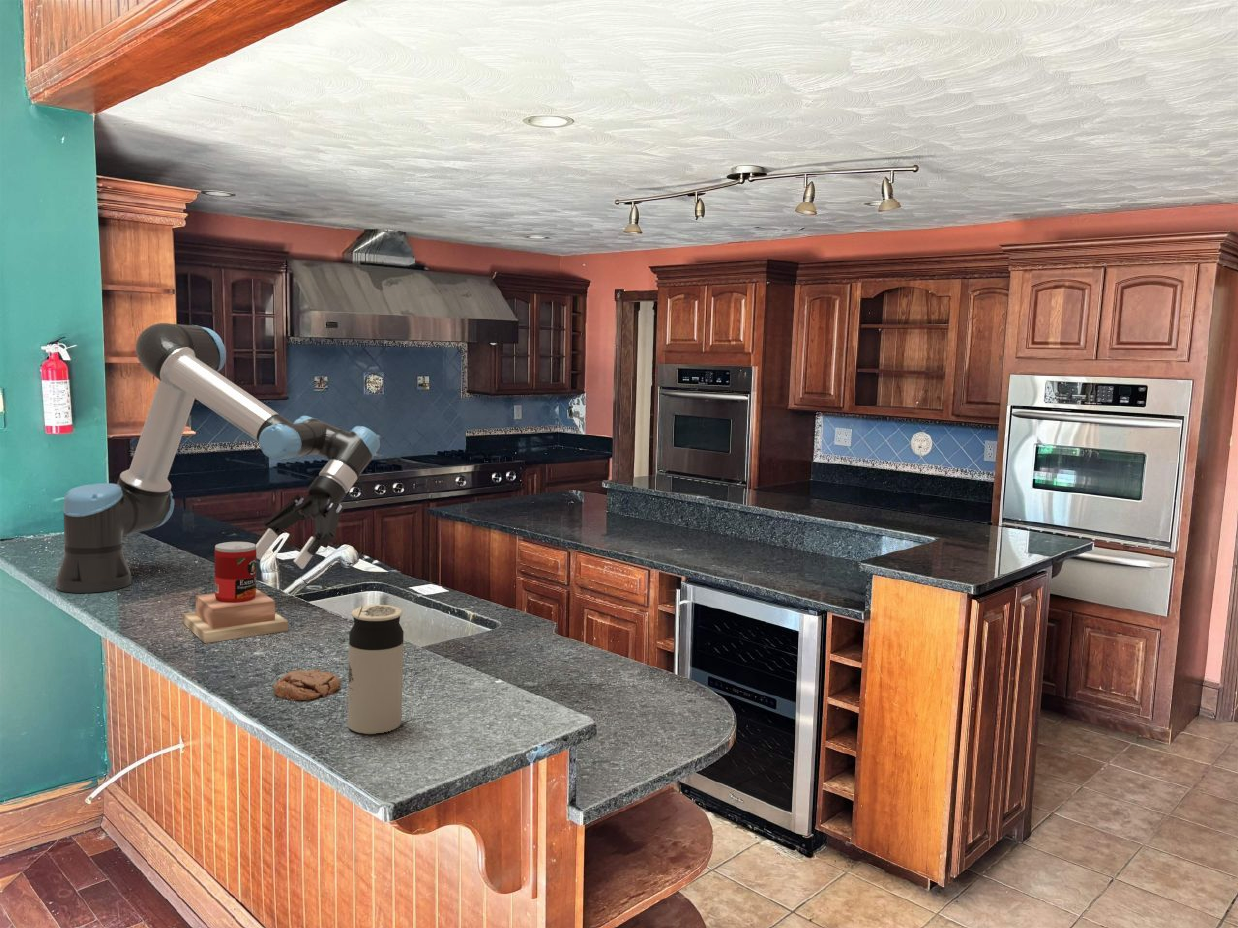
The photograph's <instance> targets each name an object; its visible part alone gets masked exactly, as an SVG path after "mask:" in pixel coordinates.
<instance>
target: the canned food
mask: <svg viewBox="0 0 1238 928" xmlns="http://www.w3.org/2000/svg"><path fill="white" fill-rule="evenodd" d="M256 589H257V558H256V544H255V543H252V542H248V541H227V542H222V543H221V542H220V543H217V544H215V546H214V593H215V597H216V599H217V600H218V601H221V602H228V603H236V602H245V601H249V600H252V599H254V597H255V595H256Z"/></svg>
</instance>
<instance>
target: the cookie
mask: <svg viewBox="0 0 1238 928" xmlns="http://www.w3.org/2000/svg"><path fill="white" fill-rule="evenodd" d="M340 686H341V681H340V678H338V676H337V675H336V674H334V673H331V672H329V671H322V670H320V669H313V670H292V671H289V672H287V673H286V674H284V675H283V676H282V677H281V678H280V679H279V680H277V681H276V682H274V683H273V690H274V695H275V696H276V695H277V696H278V698H279V697H282V698H281V699H284V698H288V699H292V700H291V701H295V700H307V701H311V700H310V699H312V700H315V699H317V698H318V699H319V698H321V697H322V696H323V697H322V698H325V697H327V696H332V695H333V694H335V693H336V692H337V691H339V690H340ZM331 694H332V695H331ZM277 696H276V697H277ZM288 699H287V700H288ZM293 699H294V700H293Z"/></svg>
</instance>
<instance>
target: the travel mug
mask: <svg viewBox="0 0 1238 928" xmlns="http://www.w3.org/2000/svg"><path fill="white" fill-rule="evenodd" d="M350 613H351V614H350V615H351V616H352V618H353V625H352V627H351V629H350V631H349V636H348V641H349V642H348V644H349V645H348V685H347V686H348V693H347V695H348V697H347V706H348V707H347V727H348V728H349V729H350V730H351V731H353V732H356V733H358V734H362V733H363V734H364V735H377V734H376V733H382V734H385V733H384V732H386V733H389V732H392V731H393V730H396V729H397V728H399V727H400V726H401V725H402V723H403V722H402V718H403V713H402V712H403V711H402V710H403V677H404V676H403V675H404V674H403V672H404V671H403V670H404V669H403V668H404V661H403V660H404V633H405V632H404V629H403V627H402V625H401V623H400V620H401V616H402V615H403V610H402V609H401V608H399V607H397V606H392V605H389V604H388V605H387V604H386V605H385V604H375V605H374V604H373V605H371V604H370V605H363V606H359V607H357V608H354V609H353V610H352V611H351V612H350ZM391 730H392V731H391ZM388 731H389V732H388Z"/></svg>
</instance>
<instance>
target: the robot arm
mask: <svg viewBox="0 0 1238 928" xmlns="http://www.w3.org/2000/svg"><path fill="white" fill-rule="evenodd" d="M226 350H227V349H226V346H225V345H224V343H223V340H222V338H221V337H220V335H219V334H218V333H217V332H216V331H214V330H212V329H211V328H208V327H204V326H200V325H196V324H191V325H189V324H178V323H170V322H169V323H168V322H160V323H155V324H152V325H150V326H148V327H146V328H145V329H143V331H141V333H140V334H139V336H138V337H137V340H136V344H135V354H136V356H137V359H138V361H139V363H140V365H141V366H142V367H143V369H145V371H147V372H148V373H150V374H151V375H152V376H153V377H154V378H157V379H158V382H157V386H156V389H155V392H154V395H153V397H152V401H151V404H150V407H149V410H148V413H147V415H146V419H145V422H144V424H143V428H142V430H141V434H140V436H139V439H138V442H137V446H136V448H135V451H134V454H133V457H132V460H131V464H130V466H129V469H126V470H123V471H122V472H121V473H120V474H119V478H118V480H117V483H113V482H112V483H111V482H110V483H109V482H108V483H107V482H99V483H93V484H84V485H80V486H76V487H74V488H71V489H69V490H68V491H67V492H66V493H65V494H64V497H63V499H64V501H63V507H62V512H63V531H64V532H63V535H64V537H63V539H64V541H63V542H64V555H63V558H62V562H61V564H60V567H59V570H58V572H57V576H56V579H55V581H56V583H55V585H56V586H55V587H56V588H55V589H57V590H58V591H60V592H65V593H74V594H75V593H76V594H79V593H80V594H81V593H82V594H83V593H84V594H86V593H89V594H91V593H101V592H102V593H103V592H110V591H113V590H114V591H115V590H119V589H123V588H126V587H128V586H130V585H131V584H132V574H131V571H130V568H129V566H128V563H127V561H126V557H125V555H124V553H123V536H126V535H130V534H136V533H139V532H140V533H141V532H148V531H150V530H153V529H156V528H158V527H161V526H163V525H164V524H165V523H166V522H168V521H169V519H170V518H171V517H172V515H173V512H174V510H175V509H174V508H175V499H174V498H173V496H174V495H173V492H172V490H171V489H172V484H171V482H170V481H169V479H168V478H169V474H170V471H171V468H172V467H173V463H174V459H175V456H176V453H177V451H178V448H179V445H180V443H181V439H182V436H183V434H184V432H185V431H184V430H185V428H186V426H187V422H188V419H189V417H190V414H191V411H192V408H193V406H194V402H195V400H197V401H198V402H200V403H201V404H202V405H204V406H206V407H207V409H208V408H209V409H210V410H211V411H212V412H214V413H216V414H217V415H218V416H220V417H222V418H223V419H224V420H226V421H227V422H229V423H231V424H232V425H233V426H235V427H236V428H238V429H239V430H241V431H242V432H243V433H245V434H247V435H248V436H250V437H251V438H252V439H253V440H255V441H257V443H258V444H259V447H260V449H261V451H262V454H263V455H264V456H266V458H267V457H268V458H270V459H272V460H282V461H283V460H289V459H294V458H299V457H305V456H307V457H308V456H311V455H318V456H320V457H323V458H325V459H328V462H327V463H326V464H325V465H324V466H323V468H322V469H321V470H320V472H319V474H318V476H316V477H315V478H314V480H313V482H311V484H310V485H309V487H308V494H307V496H305V498H304V497H302V496H301V495H299V494H296V495H294V496H293V498H292V499H291V500H290V501H289V502H288V503H287V504H286V505H284V506H283V507H281V508H280V509H279V510H278V511H276V512H275V513H274V514H272V515H271V516H270V517H268V518H267V519H266V520H264V522H263V524H262V525H263V526H265V528H266V530H265V531H264V532H263V534H262V535H261V536H260V538H259V540H258V541H257V543H256V544H255V545H256V560H262V558H263V557H264V556H265V555H266V553H267V552H268V551H269V549H270V547H271V546H272V545H273V544H274V542H275V541H276V540H277V538H278V537H279V535H278V534H279V533H280V532H282V531H284V530H286V529H287V528H289V527H291V526H292V525H294V524H296V523H298V522H300V521H305V520H306V519H307V520H314V534H313V536H310V537H309V539H308V540H307V542H305V545H304V546H302V548H301V550H300V551H299V552H298V554H297V555H296V556H295V558H294V559H293V562H294V564H295V565H297V566H298V567H299V569H301V570H304V569H305V567H306V566H307V564H308V563H309V561H310V560H311V559H312V558H313V556H315V555H316V554H317V552H318V551H319V549H320V548H321V547H322V546H323V545H325V544H326V543H328V544H331V543H333V542H334V541H335V537H336V533H337V529H338V524H339V521H340V517H341V515H342V513H343V512H344V510H345V508H344V507H343V505H342V504H341V503H342V501H343V500H344V498H345V497H346V495H347V493H348V492H349V491H350V490H351V488H352V487H353V486H354V484H355V483H356V481H357V480H358V478H359V477H360V476H361V474H362V472H363V471H364V470H365V469H366V468H367V466H368V465H369V464H370V462H371V461H372V460H374V457H375V455H376V453H377V452H378V450H379V449H380V446H381V441H380V438H379V437H378V435H377V434H376V433H375V432H374V431H373V430H371V428H367V427H366V426H362V425H361V426H360V425H356V426H354V427H353V428H352V429H351V430H350V431H347V430H343V429H340V428H338V427H336V426H333V425H331V424H329V423H326V422H324V421H322V420H320V419H319V418H315V417H314V418H313V417H311V416H309V415H302V416H300V417H299V418H296V419H295V420H294V422H291V421H290V420H288V419H287V418H285V417H283V416H282V415H281V414H279V413H278V412H276V411H275V410H273V409H272V408H271V407H269V406H268V405H266V404H264V402H262V401H260V400H259V399H257V398H256V397H254V396H253V395H252V394H250V393H249V392H247V391H246V390H244V389H243V388H241V387H240V386H238V385H237V384H235V383H234V382H233V381H231V380H230V379H229V378H227V377H225V376H223V374H221V373H220V371H221V370H222V369H223V367H224V366H225V363H226V360H227V358H226V357H227V351H226Z"/></svg>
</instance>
